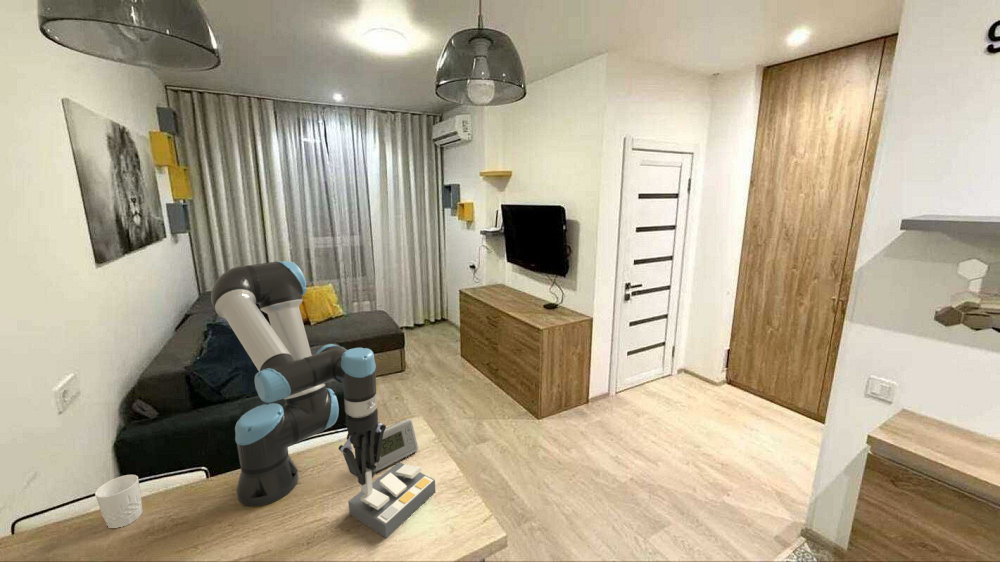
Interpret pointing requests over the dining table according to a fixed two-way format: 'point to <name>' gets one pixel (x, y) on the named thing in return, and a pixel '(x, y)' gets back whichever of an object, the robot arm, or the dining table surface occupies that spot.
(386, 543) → the dining table surface
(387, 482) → the switch
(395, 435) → the digital clock
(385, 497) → the switch
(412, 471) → the switch
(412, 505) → the panel
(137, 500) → the white cup
